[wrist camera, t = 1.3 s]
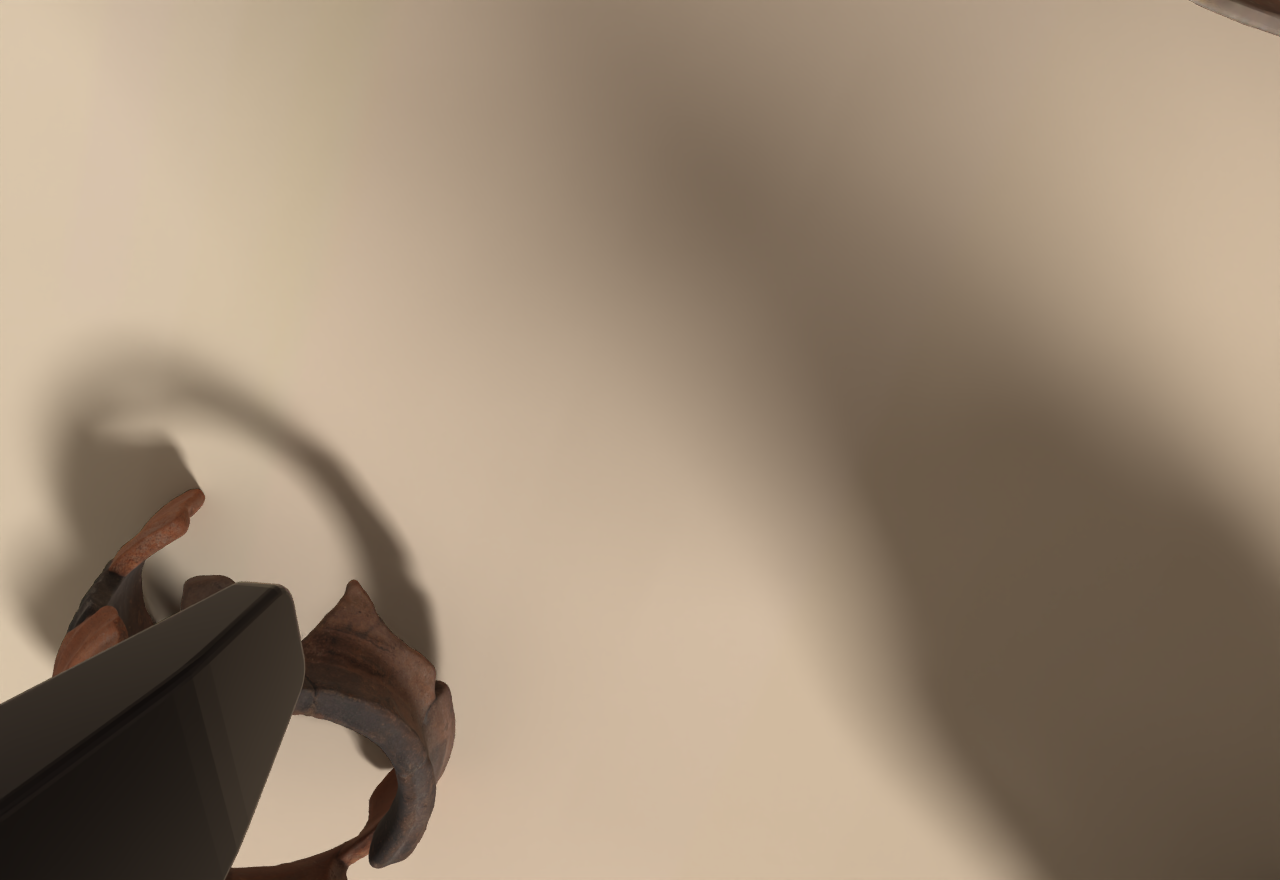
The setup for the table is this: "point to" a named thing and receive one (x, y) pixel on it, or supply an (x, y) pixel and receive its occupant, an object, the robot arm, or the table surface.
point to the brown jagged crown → (308, 693)
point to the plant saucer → (1248, 12)
